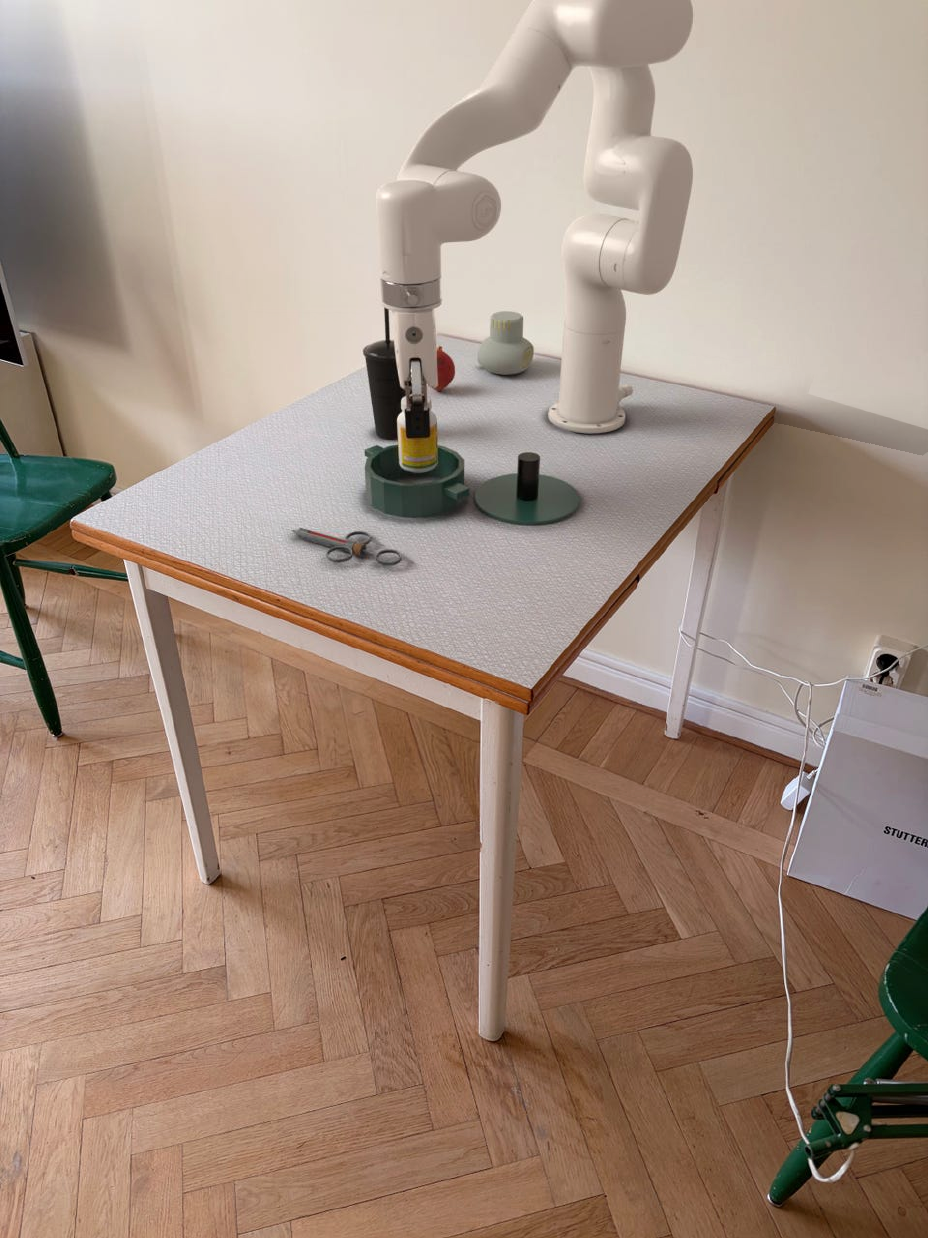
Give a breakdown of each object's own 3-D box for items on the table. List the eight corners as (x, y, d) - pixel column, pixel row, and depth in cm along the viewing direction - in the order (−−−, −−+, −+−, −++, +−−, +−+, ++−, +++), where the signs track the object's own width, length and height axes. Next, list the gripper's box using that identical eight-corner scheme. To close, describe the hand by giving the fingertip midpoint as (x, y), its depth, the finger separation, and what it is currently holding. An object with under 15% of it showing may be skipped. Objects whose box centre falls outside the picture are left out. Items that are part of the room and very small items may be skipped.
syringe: (299, 520, 127) (298, 509, 126) (415, 552, 120) (415, 540, 119) (264, 546, 121) (262, 534, 120) (384, 581, 114) (383, 569, 114)
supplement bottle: (393, 461, 131) (389, 395, 126) (428, 453, 133) (426, 388, 127) (408, 477, 127) (405, 410, 122) (444, 468, 129) (442, 402, 123)
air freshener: (495, 357, 180) (496, 304, 174) (536, 363, 177) (539, 310, 171) (473, 376, 171) (473, 321, 166) (515, 383, 169) (517, 327, 163)
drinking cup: (418, 424, 153) (415, 300, 142) (411, 444, 147) (408, 316, 136) (372, 422, 154) (365, 298, 142) (363, 442, 148) (355, 314, 136)
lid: (523, 470, 140) (525, 425, 136) (600, 503, 131) (605, 457, 127) (452, 502, 131) (452, 455, 127) (530, 540, 123) (533, 491, 119)
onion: (454, 397, 163) (454, 352, 158) (421, 397, 163) (420, 351, 159) (455, 385, 168) (455, 340, 163) (423, 384, 168) (422, 340, 163)
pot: (406, 461, 142) (405, 429, 139) (497, 504, 131) (499, 470, 128) (335, 490, 134) (332, 456, 131) (426, 538, 123) (425, 502, 120)
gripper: (446, 312, 110) (449, 454, 120) (437, 270, 123) (441, 401, 134) (381, 314, 109) (390, 456, 120) (380, 272, 123) (388, 403, 134)
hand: (417, 426), depth 127 cm, fingers closed on supplement bottle, 5 cm apart
